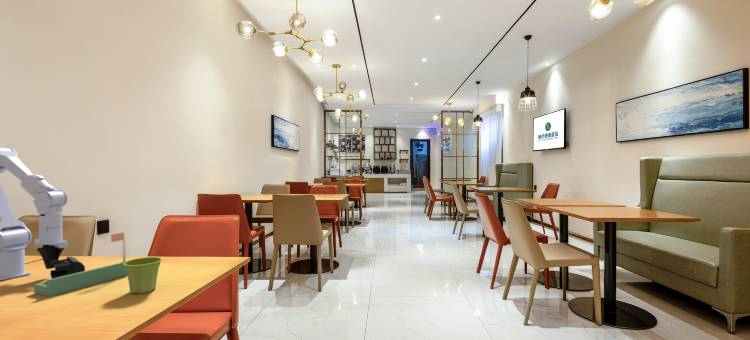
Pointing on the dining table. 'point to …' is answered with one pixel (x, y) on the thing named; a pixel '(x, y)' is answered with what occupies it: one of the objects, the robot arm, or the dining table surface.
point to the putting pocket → (85, 275)
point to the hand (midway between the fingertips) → (51, 268)
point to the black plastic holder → (66, 267)
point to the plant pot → (142, 274)
